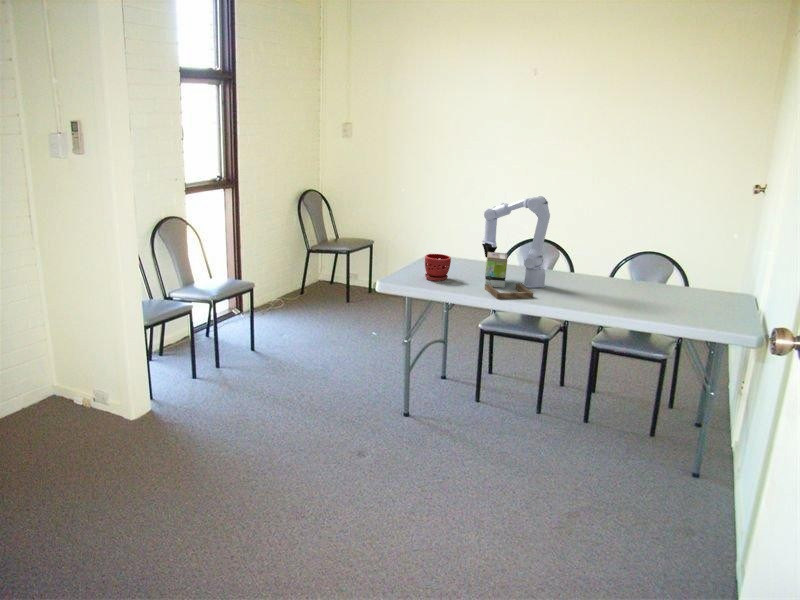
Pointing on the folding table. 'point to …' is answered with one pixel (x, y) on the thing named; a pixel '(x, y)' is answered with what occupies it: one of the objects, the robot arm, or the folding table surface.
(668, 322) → the folding table surface
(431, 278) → the plant pot
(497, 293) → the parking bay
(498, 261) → the tea box
